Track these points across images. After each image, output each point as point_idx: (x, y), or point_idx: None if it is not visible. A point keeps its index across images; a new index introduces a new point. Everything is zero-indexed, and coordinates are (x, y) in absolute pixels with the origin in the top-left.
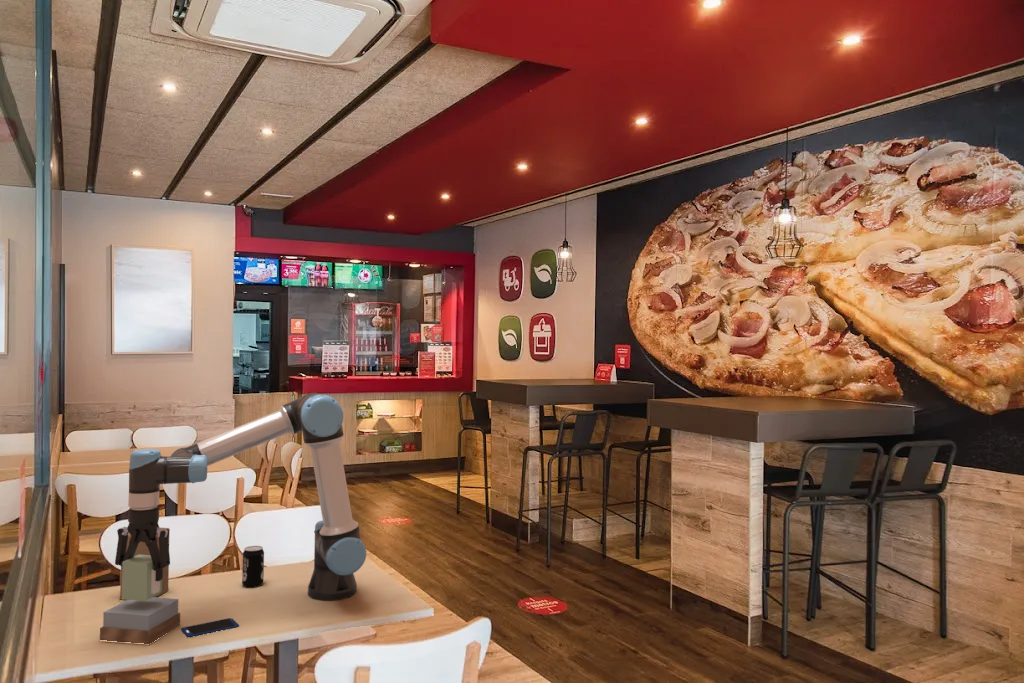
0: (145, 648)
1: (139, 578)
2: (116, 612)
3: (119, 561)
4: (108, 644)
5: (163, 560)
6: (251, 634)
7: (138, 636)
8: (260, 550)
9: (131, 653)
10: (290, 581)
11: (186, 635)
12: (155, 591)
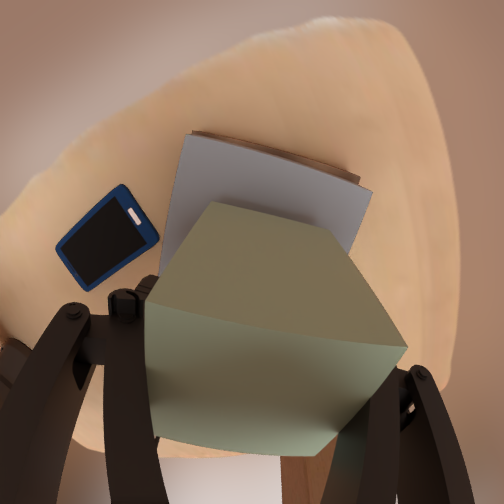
0: (203, 110)
1: (242, 249)
2: (326, 181)
3: (413, 383)
4: (317, 147)
5: (50, 335)
6: (25, 205)
7: (232, 138)
8: None
9: (230, 79)
10: (102, 417)
11: (127, 191)
12: None
